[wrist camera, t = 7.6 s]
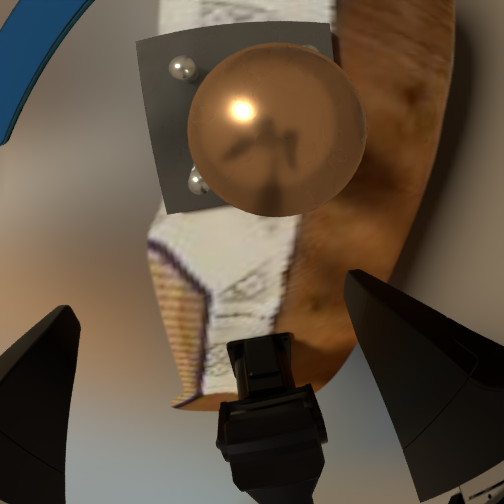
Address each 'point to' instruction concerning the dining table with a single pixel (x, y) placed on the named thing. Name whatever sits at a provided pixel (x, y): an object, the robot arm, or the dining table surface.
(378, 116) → the dining table surface
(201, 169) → the canister
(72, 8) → the smartphone
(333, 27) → the dining table surface
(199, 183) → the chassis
